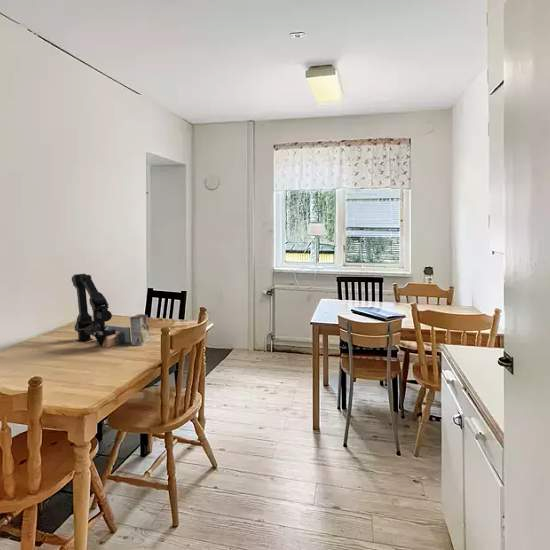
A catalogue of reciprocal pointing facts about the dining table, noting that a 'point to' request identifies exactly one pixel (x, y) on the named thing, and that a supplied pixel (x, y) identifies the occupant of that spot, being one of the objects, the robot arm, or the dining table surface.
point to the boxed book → (110, 340)
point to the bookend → (121, 339)
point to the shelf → (122, 329)
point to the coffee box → (139, 329)
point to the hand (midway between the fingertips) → (100, 346)
